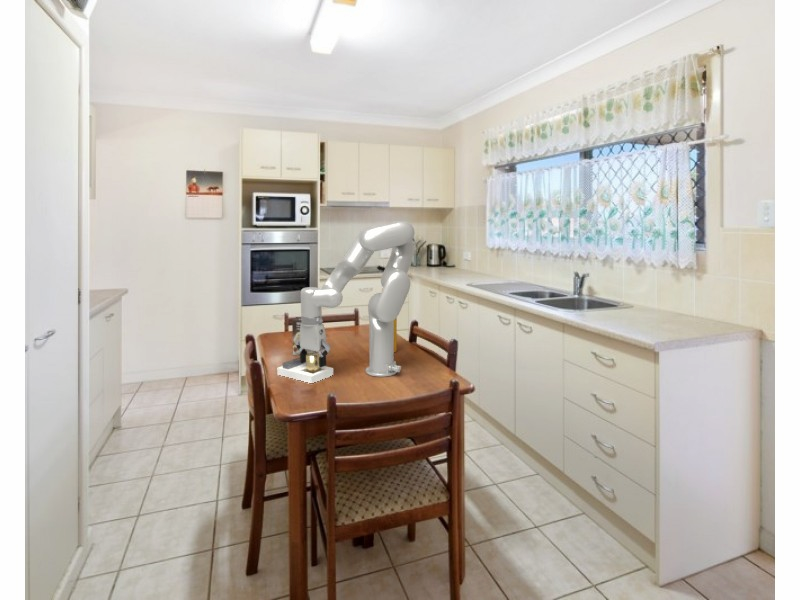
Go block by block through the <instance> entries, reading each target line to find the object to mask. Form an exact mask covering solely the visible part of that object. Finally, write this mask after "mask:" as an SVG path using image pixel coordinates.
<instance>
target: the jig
mask: <svg viewBox="0 0 800 600" xmlns="http://www.w3.org/2000/svg"><path fill="white" fill-rule="evenodd" d="M276 373H277V376H279V375H281V376H280V377H282V376H285V377H284V378H286V377H289V378H288V379H290V378H293V379H292V380H294V379H296V380H295V381H297V380H301V381H304V382H303V383H305V382H308V383H307V384H309V383H314V382H316V383H318V382H317V381H319V382H321V381H323V380H326V379H328V378H330V376H331V377H333V376H334V367H331V366H327V365H326V366H323V367H320V371H319V372H316V373H314V374H312V373H308V372H306V362H303V363H301V362H300V356H299V357H296V358H294V359H290V360H288V361H287V360H286V361H285V362H282V365H281V366H279V367H277V368H276ZM332 375H333V376H332ZM325 378H326V379H325ZM322 379H323V380H322ZM320 380H321V381H320ZM301 381H300V382H301ZM314 384H315V383H314Z"/></svg>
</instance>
